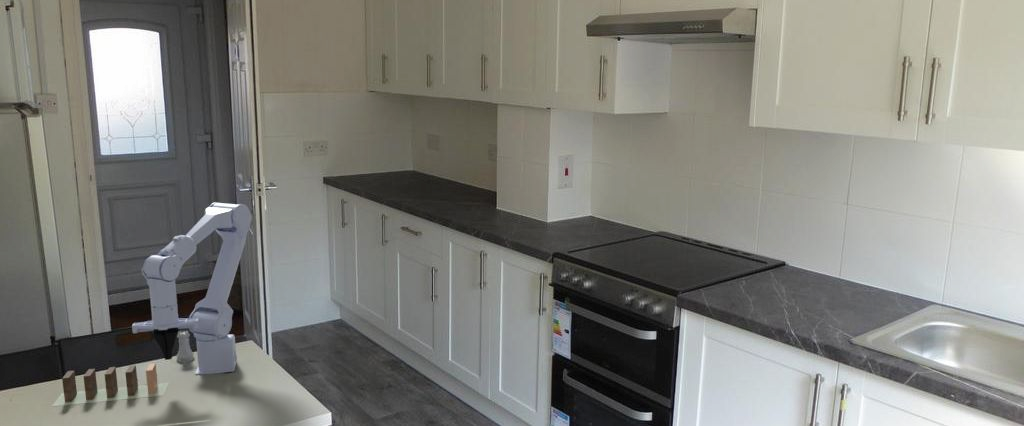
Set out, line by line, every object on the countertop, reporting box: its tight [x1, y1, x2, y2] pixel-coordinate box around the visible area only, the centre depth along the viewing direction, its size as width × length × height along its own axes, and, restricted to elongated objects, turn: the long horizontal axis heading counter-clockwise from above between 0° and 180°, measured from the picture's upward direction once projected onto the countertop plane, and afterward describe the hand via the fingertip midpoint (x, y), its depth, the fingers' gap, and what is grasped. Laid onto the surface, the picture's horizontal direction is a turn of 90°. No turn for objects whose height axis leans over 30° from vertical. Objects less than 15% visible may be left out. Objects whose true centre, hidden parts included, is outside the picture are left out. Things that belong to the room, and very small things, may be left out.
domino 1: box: [61, 370, 77, 402], centre depth 180 cm, size 1×4×6 cm, turn 14°
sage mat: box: [51, 382, 170, 407], centre depth 183 cm, size 24×8×1 cm, turn 105°
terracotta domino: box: [145, 362, 159, 394], centre depth 184 cm, size 1×4×6 cm, turn 15°
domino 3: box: [104, 366, 119, 398], centre depth 182 cm, size 1×4×6 cm, turn 14°
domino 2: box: [83, 368, 98, 400], centre depth 181 cm, size 1×4×6 cm, turn 15°
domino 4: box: [124, 364, 139, 396], centre depth 183 cm, size 1×4×6 cm, turn 15°
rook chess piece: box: [176, 330, 195, 363], centre depth 204 cm, size 4×4×8 cm
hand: (168, 358), depth 184 cm, fingers closed
